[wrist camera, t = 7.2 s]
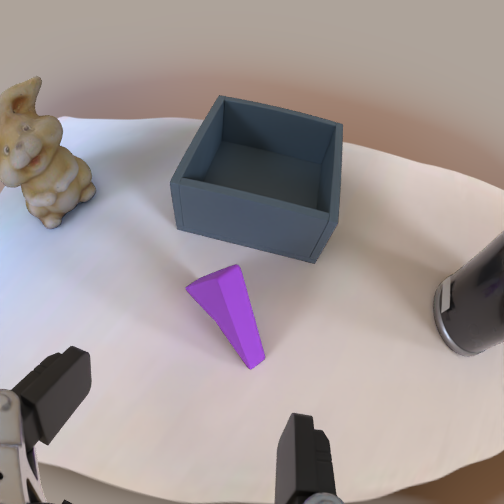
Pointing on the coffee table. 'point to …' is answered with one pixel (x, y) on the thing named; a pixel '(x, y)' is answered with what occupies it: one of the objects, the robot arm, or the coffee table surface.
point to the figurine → (39, 157)
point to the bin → (261, 179)
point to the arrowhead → (230, 311)
